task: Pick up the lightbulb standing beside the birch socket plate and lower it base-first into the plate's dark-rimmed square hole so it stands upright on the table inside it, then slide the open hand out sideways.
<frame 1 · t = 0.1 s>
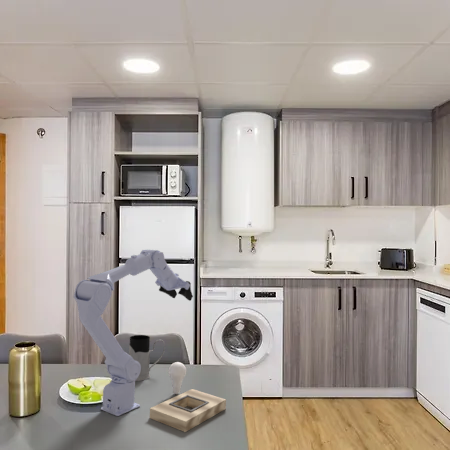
hand: (183, 297, 159), 32 cm above the table, tool tilted 50°, fingers open, 7 cm apart
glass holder: (145, 376, 165), on the table
lightbulb: (176, 394, 148), on the table
socket plate: (188, 413, 133), on the table
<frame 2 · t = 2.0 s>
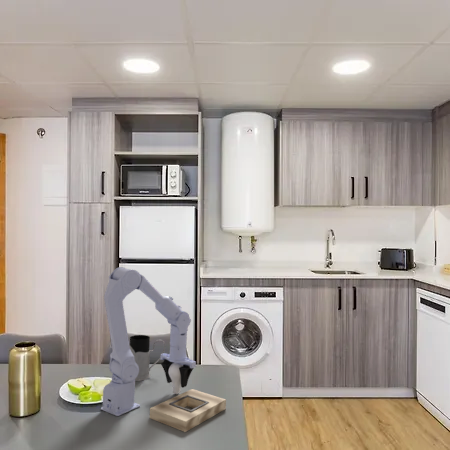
hand: (176, 384, 148), 3 cm above the table, tool pointing down, fingers closed on lightbulb, 6 cm apart
lightbulb: (176, 394, 148), on the table, touching gripper
everything else where it was.
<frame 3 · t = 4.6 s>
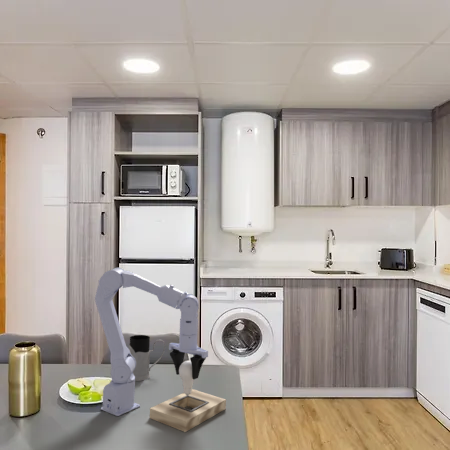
hand: (187, 376, 136), 10 cm above the table, tool pointing down, fingers closed on lightbulb, 6 cm apart
lightbulb: (187, 395, 137), point 4 cm above the table, touching gripper
everything else where it was.
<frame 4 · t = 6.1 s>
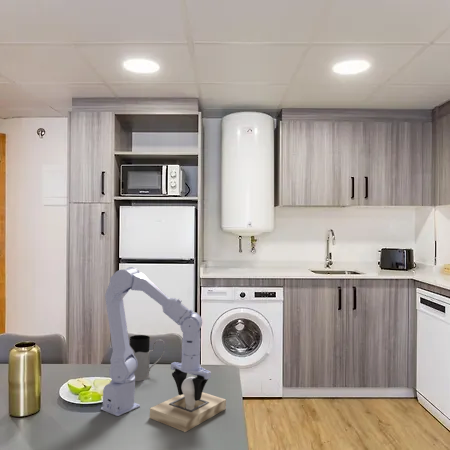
hand: (189, 396, 133), 5 cm above the table, tool pointing down, fingers closed on lightbulb, 6 cm apart
lightbulb: (189, 412, 134), resting in socket plate, touching gripper
everything else where it was.
when the fingers open (4 cm above the table, at t = 7.5 s): lightbulb stays where it is, resting in socket plate.
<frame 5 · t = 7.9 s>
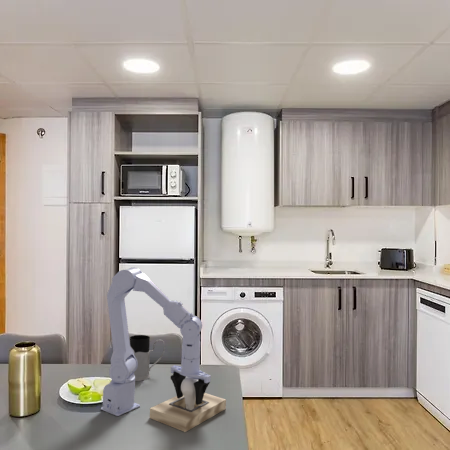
hand: (189, 400, 133), 4 cm above the table, tool pointing down, fingers open, 7 cm apart
lightbulb: (189, 412, 134), resting in socket plate
everything else where it was.
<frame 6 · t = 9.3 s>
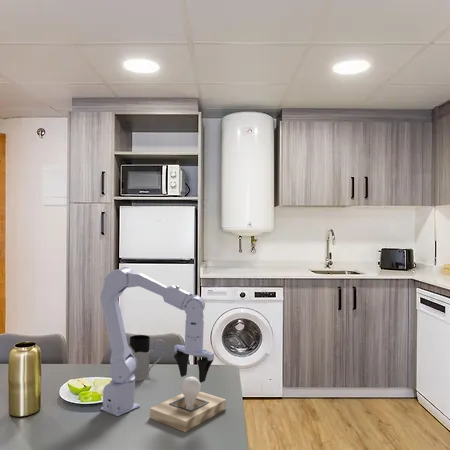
hand: (192, 378, 134), 10 cm above the table, tool pointing down, fingers open, 7 cm apart
nothing on the table moved.
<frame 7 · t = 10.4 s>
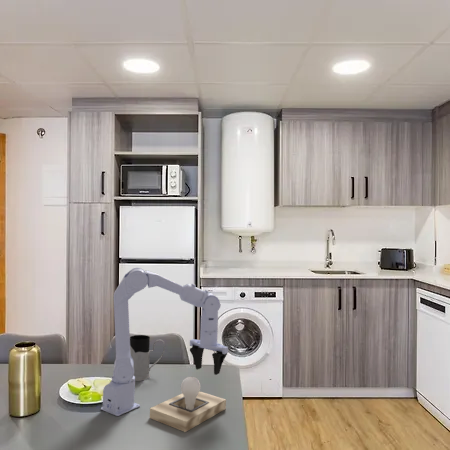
hand: (207, 371, 142), 10 cm above the table, tool pointing down, fingers open, 7 cm apart
nothing on the table moved.
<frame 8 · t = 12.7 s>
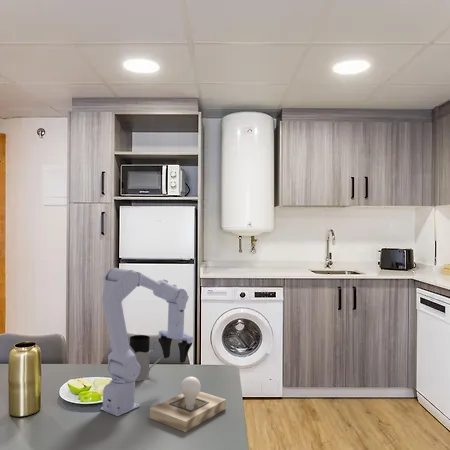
hand: (174, 359, 153), 10 cm above the table, tool pointing down, fingers open, 7 cm apart
nothing on the table moved.
at the end: lightbulb 0.9 cm off-centre on the socket plate, point 0.0 cm above the socket plate's base; lightbulb tilted 0°; the gripper is holding nothing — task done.
